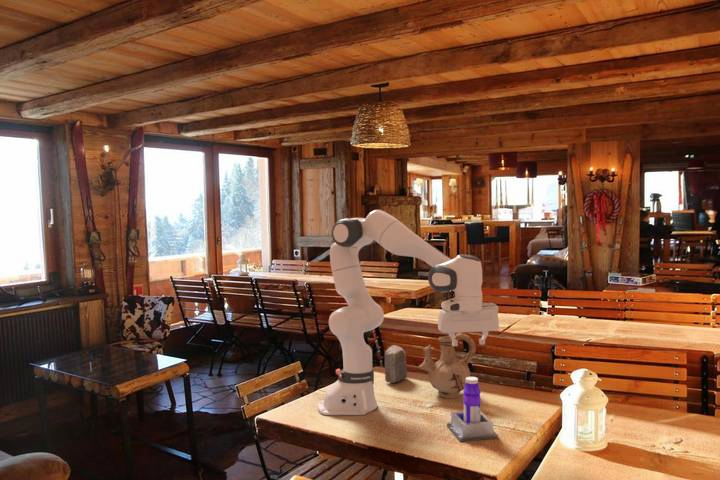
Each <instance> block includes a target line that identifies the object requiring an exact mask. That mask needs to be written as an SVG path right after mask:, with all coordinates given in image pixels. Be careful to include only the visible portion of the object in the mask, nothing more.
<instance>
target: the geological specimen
mask: <svg viewBox="0 0 720 480" xmlns="http://www.w3.org/2000/svg"><path fill="white" fill-rule="evenodd" d="M406 358H407V354H406V352H405V350H404V349H403V348H402V347H401V346H398V345H396V344H392V345H390V346H388V347H387V349H386V350H385V352H384V378H385V382H386V383H390V384H391V383H393V384H394V383H397V382H400V381H403V380H404V379H406V378H407V377H408V375H407V373H408V372H407V359H406Z"/></svg>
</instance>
